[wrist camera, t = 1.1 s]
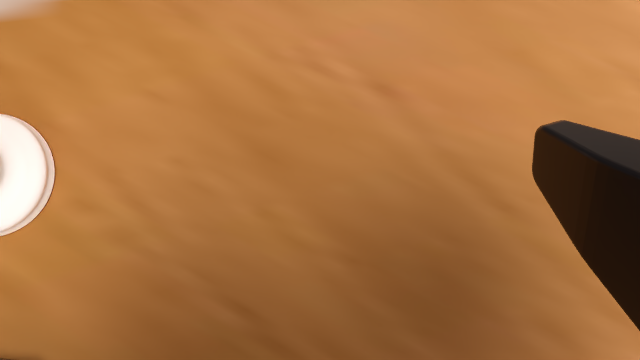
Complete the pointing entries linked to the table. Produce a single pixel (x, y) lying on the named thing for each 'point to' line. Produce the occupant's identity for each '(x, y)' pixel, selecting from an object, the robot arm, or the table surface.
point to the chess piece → (22, 173)
